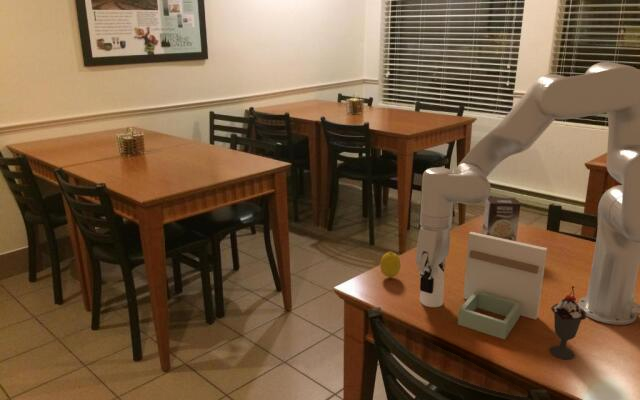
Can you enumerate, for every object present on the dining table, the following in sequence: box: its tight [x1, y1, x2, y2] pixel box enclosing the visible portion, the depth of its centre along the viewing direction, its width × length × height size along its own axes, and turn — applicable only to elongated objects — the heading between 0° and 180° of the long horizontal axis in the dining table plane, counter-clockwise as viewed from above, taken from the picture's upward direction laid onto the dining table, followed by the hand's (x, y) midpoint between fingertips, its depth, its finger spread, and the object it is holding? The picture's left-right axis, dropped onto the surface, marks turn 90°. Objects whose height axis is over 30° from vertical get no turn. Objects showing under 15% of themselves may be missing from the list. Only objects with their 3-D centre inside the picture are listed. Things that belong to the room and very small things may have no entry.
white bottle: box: [419, 263, 445, 308], centre depth 131 cm, size 6×12×6 cm
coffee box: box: [481, 196, 521, 242], centre depth 161 cm, size 9×6×16 cm
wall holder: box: [457, 231, 548, 340], centre depth 122 cm, size 18×14×18 cm
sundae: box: [549, 285, 587, 361], centre depth 109 cm, size 7×7×15 cm
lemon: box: [379, 250, 401, 279], centre depth 144 cm, size 6×6×8 cm
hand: (431, 286), depth 131 cm, fingers closed on white bottle, 5 cm apart
